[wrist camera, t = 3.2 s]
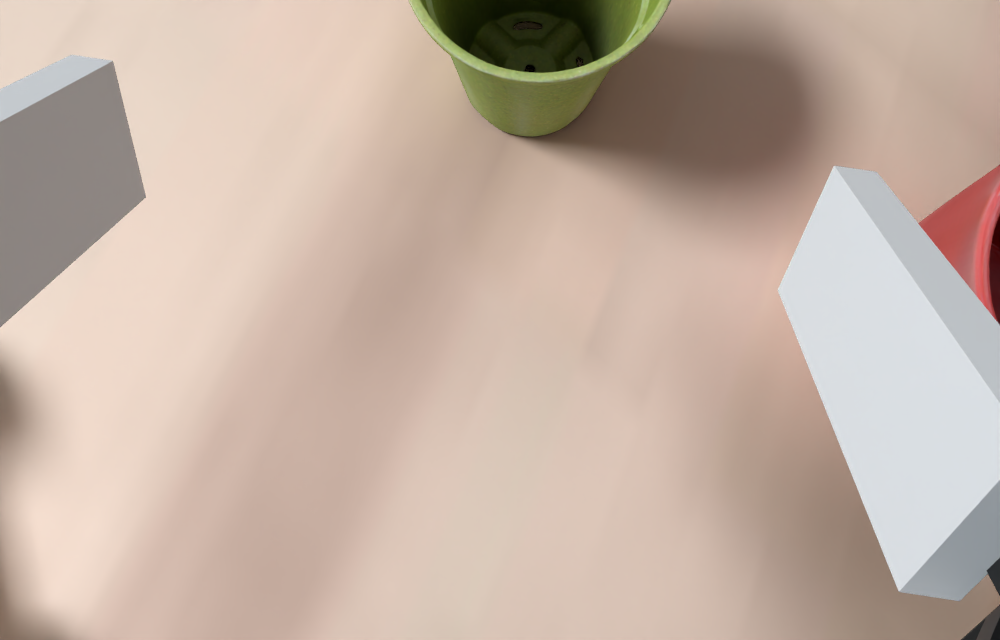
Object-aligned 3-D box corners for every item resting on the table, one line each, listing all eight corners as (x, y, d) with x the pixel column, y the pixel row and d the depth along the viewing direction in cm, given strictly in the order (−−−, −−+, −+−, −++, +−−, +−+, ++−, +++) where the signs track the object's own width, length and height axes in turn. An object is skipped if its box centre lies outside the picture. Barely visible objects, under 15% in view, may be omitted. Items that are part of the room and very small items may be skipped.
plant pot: (420, -14, 31) (390, -170, 23) (621, -29, 31) (665, -190, 23) (434, 179, 30) (406, 91, 22) (641, 163, 30) (696, 69, 22)
